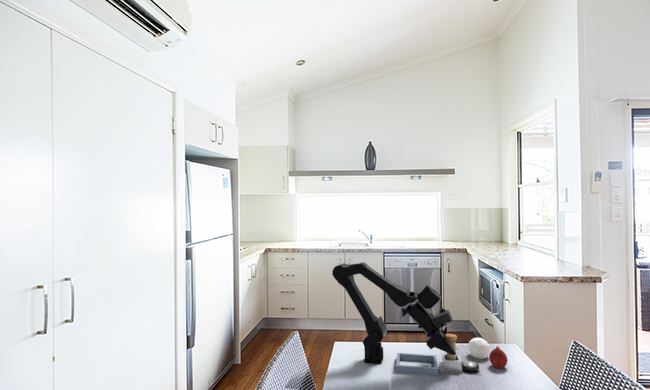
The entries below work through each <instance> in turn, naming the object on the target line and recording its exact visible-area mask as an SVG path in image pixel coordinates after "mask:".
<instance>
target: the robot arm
mask: <svg viewBox="0 0 650 390" xmlns="http://www.w3.org/2000/svg"><path fill="white" fill-rule="evenodd" d="M331 273H332V277H333V279H334V280H335V281H336V282H337V283H338V284H339V285H340V286H341V287H343V288H344V289H345V291H346V292H347V295H348V296H349V297H350V300H351V301H352V303H353V304H354V306H355V309H356V310H357V311H358V313H359V315H360V317H361V319H362V320H363V322H364V328H365V331H366V334H367V335H366V336H365V337H364V339H363V340H362V344H363V346H364V347H363V349H364V360H363V363H367V364H383V363H382V362H383V361H384V347H383V346H382V341H383V340H384V338H385V337H386V335H387V334H388V327H387V326H388V324H387V323H386V322H385V321H384V319H383V317H382V316H381V315H380V316H379V317H378V316H376V315H375V313H374V312H373V311H372V309H371V307H370V305H369V304H368V302H367V301H366V299H365V297H364V295H363V293H362V292H361V290H360V288H359V287H358V285H357V284H356V282H355V277H354V276H355V275H361V276H363V277H364V278H365V279H366V280H368V281H370V282H371V283H372V284H374V285H375V286H376V287H378V288H379V289H381V290H382V291H383V292H384V293H385V294H386V295H387V296H388V298H389V299H390V300H391V301H392V302H393V303H394V304H395V305H397V306H398V307H401V317H406V315H408V316H409V317H410V318H411V319H412V320H413V321H415V323H416V324H417V327H418V328H419V329H422V331H424V332H425V334H426V337H427V338H426V346H427V347H428V348H429V349H430V350H433V349H435V348H436V349H438V350H441V351H443V352H445V353H446V352H447V353H449V354H452V355H455V354H456V355H457V351H456V352H455V351H454V349H453V348H452V347H451V345H450V344H449V343H448V341H447V340H446V334H449V332H448V331H449V329H448V327H449V326H447V325H448V323H451V322H452V321H453V316H452V315H451V311H450V310H449V309H446V308H445V307H441V308H439V312H437V314H434V313H433V312H430V313H429V312H428V311H427V310H431V309H433V308H434V307H435V306H436V305H437V304H438V303H439V302H440V301H441V300H443V299H442V296H441V294H440V293H439V292H438V291H437V290H436V289H434V288H433V287H431V286H430V285H429V284H426V285H425V286H424V287H423V289H422V290H421V291H420V292H415V291H411V290H409V289H408V288H406V287H405V286H402V285H400V284H396V283H394V282H392V281H391V280H389V279H388V278H386V277H385V276H383V275H382V274H380V273H379V272H378V271H376V270H375V269H373V268H372V267H371V266H370V265H368V263H366V262H363V261H362V262H360V263H351V264H349V263H345V262H343V263H340V264H338V265H336V266H334V267H333V268H332V272H331ZM405 306H406V307H405ZM444 326H445V328H444ZM456 350H457V347H456ZM447 353H446V354H447Z"/></svg>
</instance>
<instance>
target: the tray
mask: <svg viewBox="0 0 650 390" xmlns="http://www.w3.org/2000/svg"><path fill="white" fill-rule="evenodd" d="M437 360H438V359H437V355H435V354H421V353H406V352H405V353H404V352H397V353H396V361H395V372H396V373H407V374H417V375H418V374H419V375H432V376H439V367H438V361H437ZM401 361H414V362H415V361H417V362H429V363H433V367H431V366H422V365H421V366H417V365H404V364H401Z"/></svg>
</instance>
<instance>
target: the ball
mask: <svg viewBox="0 0 650 390" xmlns="http://www.w3.org/2000/svg"><path fill="white" fill-rule="evenodd" d="M467 349H468V352H469V354H470V356H471V357H473V358H475V359H480V360H483V359H486V358H488V357H489V355H490V353H491V349H490V345H489V343H488V342H487V341H486V340H485V339H484V338H482V337H473V338H471V339H470V341H469V342H468V344H467Z"/></svg>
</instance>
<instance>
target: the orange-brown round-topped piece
mask: <svg viewBox="0 0 650 390" xmlns="http://www.w3.org/2000/svg"><path fill="white" fill-rule="evenodd" d="M446 340H447V341H448V343H449V344H450V345H451V347H452V348H453V349H454V351H455V352H456V354H455V355H452V354H449V353H447V352H445V354H447V360H456V355H457V349H456V348H457V346H456V345H457V340H458V336H457V335H456V334H453V333H448V334H446Z"/></svg>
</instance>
